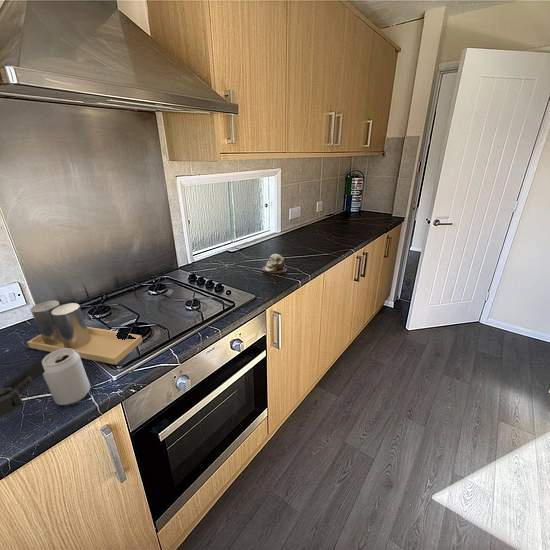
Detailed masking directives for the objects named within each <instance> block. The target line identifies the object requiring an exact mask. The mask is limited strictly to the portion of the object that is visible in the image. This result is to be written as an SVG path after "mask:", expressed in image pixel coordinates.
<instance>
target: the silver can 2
mask: <svg viewBox="0 0 550 550" xmlns="http://www.w3.org/2000/svg"><path fill="white" fill-rule="evenodd" d="M51 314H52V317H53V319H54V322H55V324H56V327H57V330H58V332H59V335H60V337H61V340H62V343H63V345H64V348H71V349H77V348H80V347H82V346H84V345H86V344H87V343H88V342H89V341H90V335H89V332H88V329H87V327H88V326H87V324H86V321H85V318H84V314H83V312H82V309H81V306H80V304H79V303H75V302H69V303H64V304H60V306H59V307H57V308H55V309H53V310H52V312H51Z"/></svg>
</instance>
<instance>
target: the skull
mask: <svg viewBox="0 0 550 550" xmlns="http://www.w3.org/2000/svg"><path fill="white" fill-rule="evenodd" d="M268 259H269V260H267V261H266V264H265V265H264V266H263V267H262V268H261V269H262V272H265V273H269V274H275V275H276V274H282V273H285V272H287V271H288V268H287V267H286V266H285V258H284V257H283V256H282V255H280V254H278V253H274V254H271V255H270V256H269V258H268Z"/></svg>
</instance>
